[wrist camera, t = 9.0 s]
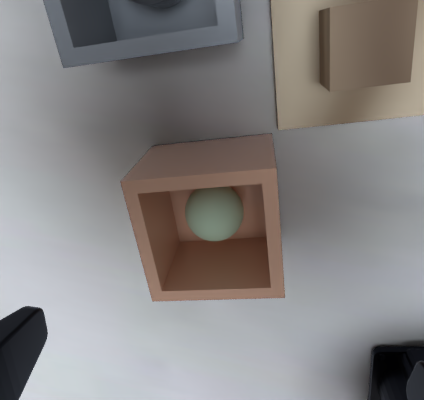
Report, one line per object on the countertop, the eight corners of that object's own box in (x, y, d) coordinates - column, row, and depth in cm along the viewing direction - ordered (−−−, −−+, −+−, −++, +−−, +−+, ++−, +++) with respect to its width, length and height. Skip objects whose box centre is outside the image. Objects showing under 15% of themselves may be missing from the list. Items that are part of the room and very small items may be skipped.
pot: (279, 239, 21) (284, 297, 16) (174, 245, 22) (152, 301, 17) (271, 133, 18) (276, 168, 14) (152, 145, 19) (120, 181, 15)
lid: (277, 125, 18) (281, 145, 15) (267, -33, 15) (270, -48, 12) (422, 109, 17) (459, 127, 14) (442, -64, 14) (493, -90, 11)
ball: (247, 221, 20) (245, 251, 17) (195, 224, 20) (185, 254, 18) (241, 171, 18) (239, 195, 16) (186, 176, 19) (174, 200, 16)
